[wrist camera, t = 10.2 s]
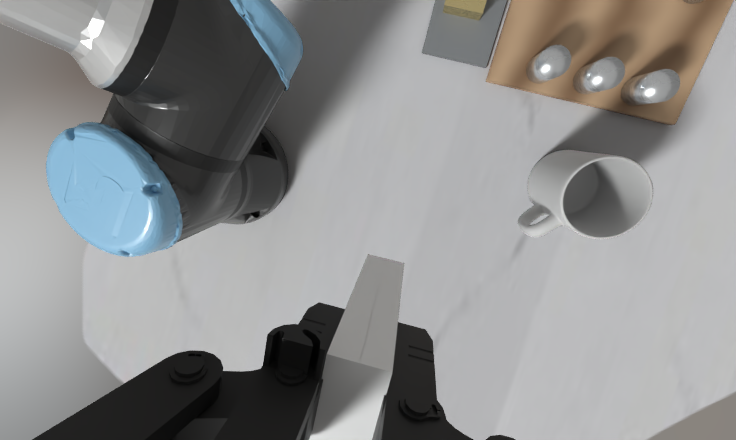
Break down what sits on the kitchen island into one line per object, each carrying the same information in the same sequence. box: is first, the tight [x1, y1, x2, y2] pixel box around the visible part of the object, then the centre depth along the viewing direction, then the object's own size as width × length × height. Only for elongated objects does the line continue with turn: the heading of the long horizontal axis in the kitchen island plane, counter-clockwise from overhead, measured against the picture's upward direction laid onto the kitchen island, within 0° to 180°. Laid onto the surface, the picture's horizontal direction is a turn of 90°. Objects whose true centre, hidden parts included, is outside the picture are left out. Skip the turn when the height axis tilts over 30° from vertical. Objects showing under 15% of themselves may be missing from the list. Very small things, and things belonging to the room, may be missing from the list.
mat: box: [422, 0, 507, 68], centre depth 41 cm, size 8×13×1 cm, turn 166°
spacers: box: [526, 0, 704, 106], centre depth 37 cm, size 18×14×4 cm
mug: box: [518, 150, 653, 239], centre depth 39 cm, size 12×8×11 cm
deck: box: [486, 0, 733, 125], centre depth 39 cm, size 22×16×1 cm
